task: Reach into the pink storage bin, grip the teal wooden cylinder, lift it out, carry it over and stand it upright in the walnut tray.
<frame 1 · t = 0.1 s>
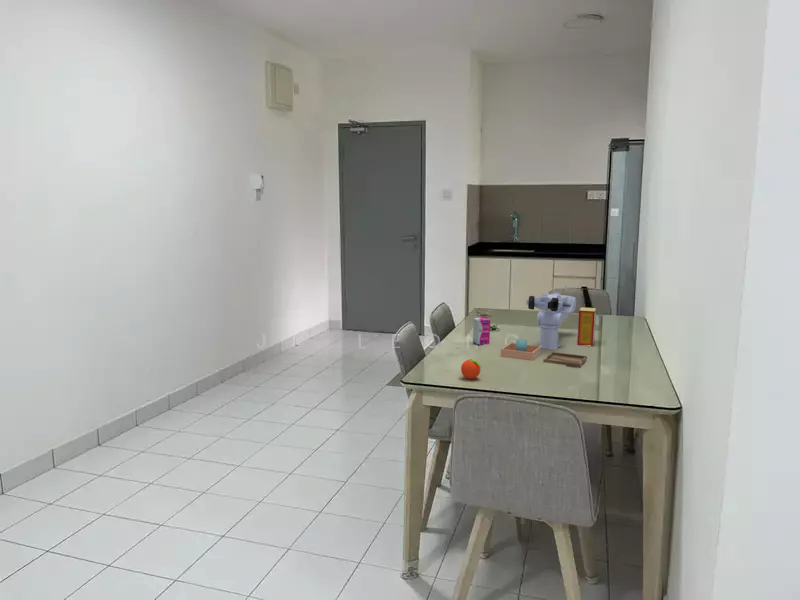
hand: (538, 304, 246), 22 cm above the table, tool horizontal, fingers open, 7 cm apart
pink storage bin: (521, 356, 250), on the table
supplement box: (481, 344, 272), on the table
tray: (565, 361, 242), on the table
teal cylinder: (521, 354, 250), resting on pink storage bin
clementine: (471, 379, 217), on the table
baking soda box: (585, 343, 274), on the table
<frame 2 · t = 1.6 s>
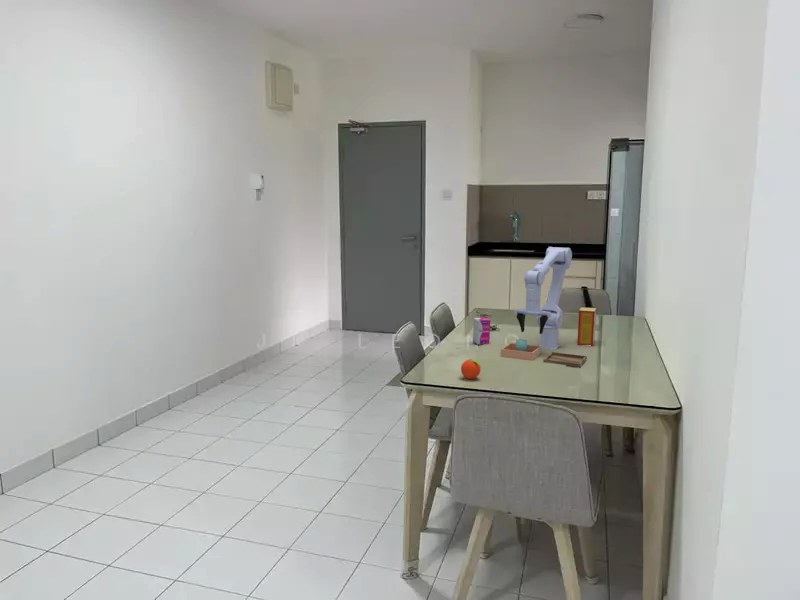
hand: (531, 332, 251), 9 cm above the table, tool pointing down, fingers open, 7 cm apart
nothing on the table moved.
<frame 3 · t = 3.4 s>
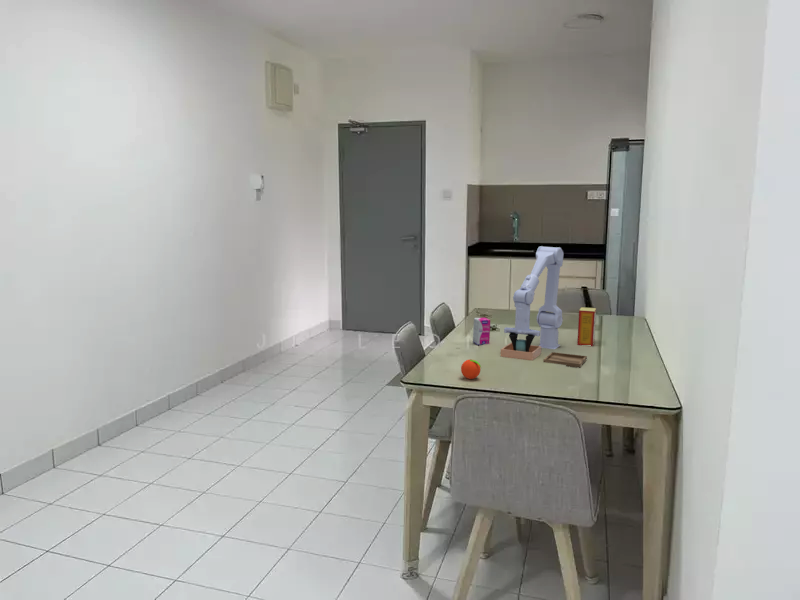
hand: (521, 351, 250), 2 cm above the table, tool pointing down, fingers closed on teal cylinder, 4 cm apart
teal cylinder: (521, 354, 250), resting on pink storage bin, touching gripper
everything else where it was.
when the fingers open (3 cm above the table, at t = 8.5 s): teal cylinder stays where it is, resting on tray.
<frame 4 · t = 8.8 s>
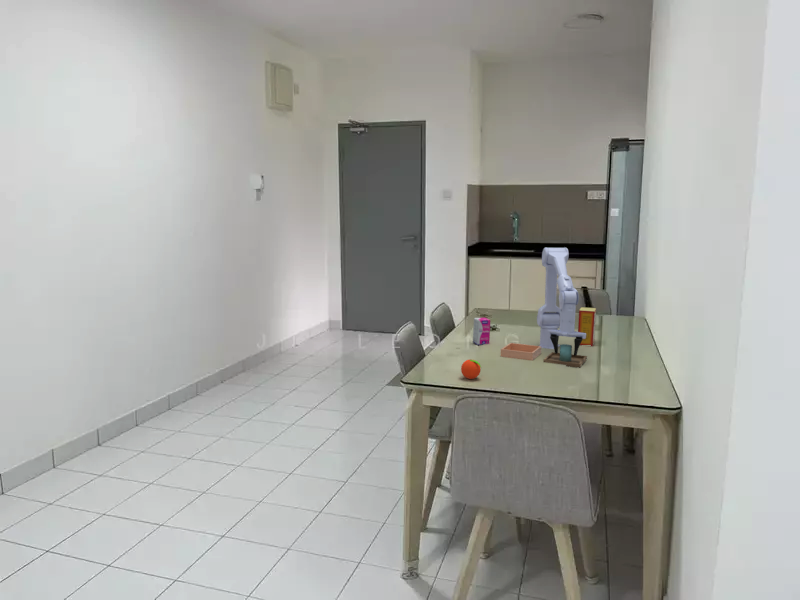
hand: (565, 354, 241), 3 cm above the table, tool pointing down, fingers open, 7 cm apart
teal cylinder: (565, 360, 242), point 1 cm above the table, touching tray
everything else where it was.
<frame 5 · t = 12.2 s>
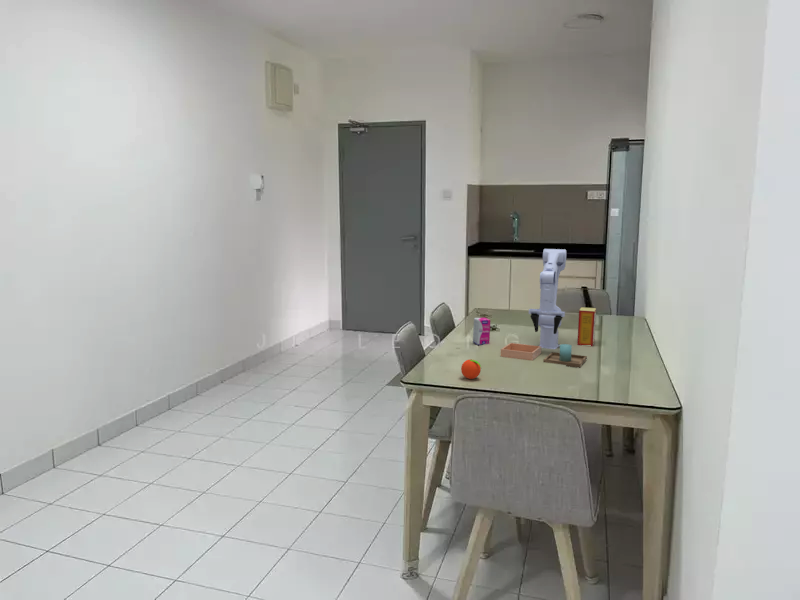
hand: (545, 332, 251), 9 cm above the table, tool pointing down, fingers open, 7 cm apart
nothing on the table moved.
at the end: teal cylinder inside the target area on the tray (0.1 cm from its centre), point 0.6 cm above the tray's base; teal cylinder tilted 2°; the gripper is holding nothing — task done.
